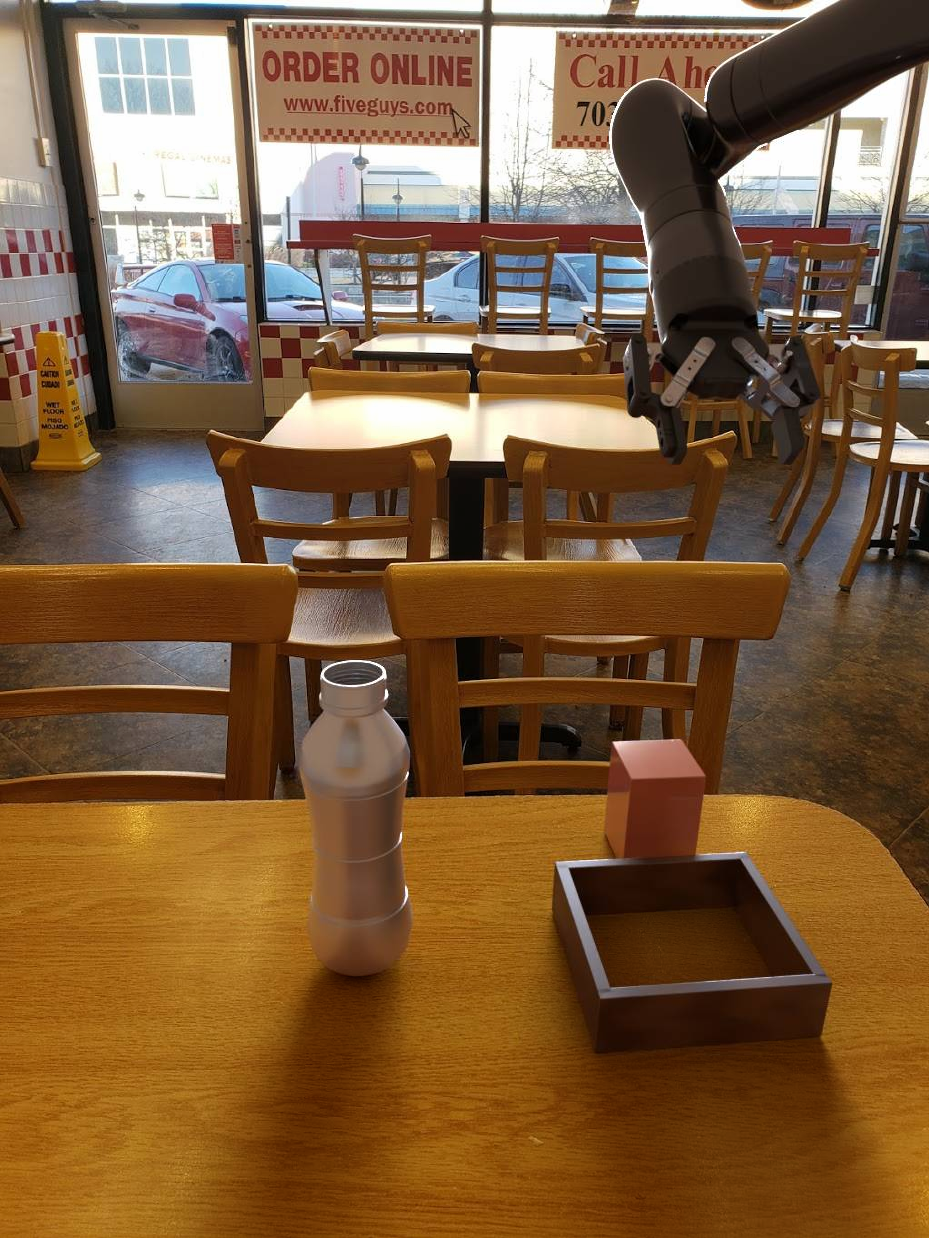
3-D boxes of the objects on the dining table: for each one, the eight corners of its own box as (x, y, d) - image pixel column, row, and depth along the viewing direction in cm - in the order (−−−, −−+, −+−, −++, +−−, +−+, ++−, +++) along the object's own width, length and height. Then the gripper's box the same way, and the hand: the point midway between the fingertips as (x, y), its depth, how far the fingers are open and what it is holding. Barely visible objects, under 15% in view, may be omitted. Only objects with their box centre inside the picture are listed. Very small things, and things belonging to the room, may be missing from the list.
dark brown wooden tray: (739, 898, 67) (746, 851, 65) (821, 1036, 55) (832, 982, 54) (551, 909, 65) (554, 861, 64) (595, 1053, 54) (600, 998, 52)
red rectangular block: (670, 827, 75) (681, 738, 72) (694, 869, 70) (706, 776, 67) (603, 830, 74) (611, 741, 71) (621, 873, 69) (631, 779, 66)
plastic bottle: (426, 974, 59) (429, 687, 52) (321, 1002, 57) (308, 706, 49) (395, 911, 65) (393, 644, 57) (298, 934, 62) (283, 659, 55)
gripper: (624, 249, 71) (655, 429, 64) (804, 253, 72) (852, 429, 66) (601, 318, 78) (627, 487, 71) (766, 320, 79) (806, 486, 73)
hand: (735, 459), depth 69 cm, fingers open, 8 cm apart
